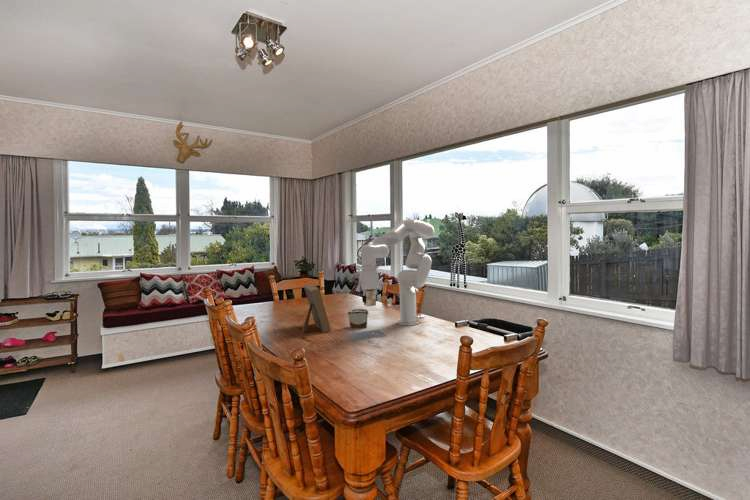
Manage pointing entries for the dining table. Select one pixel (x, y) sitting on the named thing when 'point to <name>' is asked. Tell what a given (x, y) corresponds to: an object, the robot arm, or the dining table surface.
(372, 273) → the robot arm
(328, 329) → the photo frame
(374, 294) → the birch block
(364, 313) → the food container
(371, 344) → the dining table surface
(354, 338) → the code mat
